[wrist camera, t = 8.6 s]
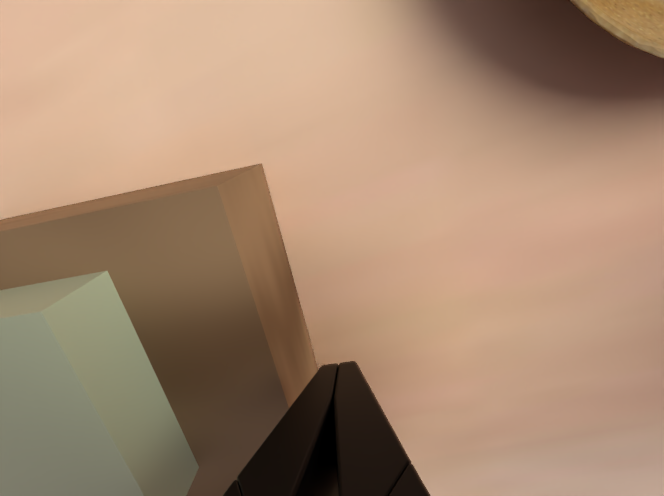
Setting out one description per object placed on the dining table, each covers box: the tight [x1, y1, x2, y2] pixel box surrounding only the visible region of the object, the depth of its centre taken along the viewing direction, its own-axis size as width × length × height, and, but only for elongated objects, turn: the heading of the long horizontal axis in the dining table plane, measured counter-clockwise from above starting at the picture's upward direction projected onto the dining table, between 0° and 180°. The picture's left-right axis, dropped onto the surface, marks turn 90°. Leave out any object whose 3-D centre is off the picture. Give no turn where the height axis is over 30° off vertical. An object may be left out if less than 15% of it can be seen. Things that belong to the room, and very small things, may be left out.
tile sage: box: [0, 271, 199, 496], centre depth 10 cm, size 7×6×2 cm
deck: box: [0, 164, 318, 496], centre depth 14 cm, size 22×10×4 cm, turn 12°
